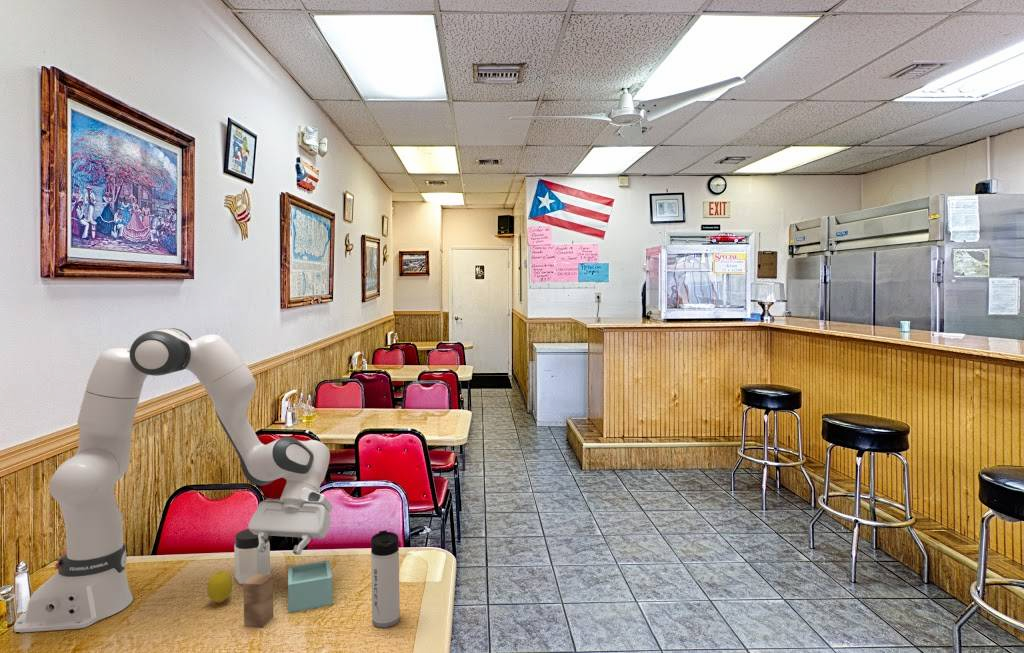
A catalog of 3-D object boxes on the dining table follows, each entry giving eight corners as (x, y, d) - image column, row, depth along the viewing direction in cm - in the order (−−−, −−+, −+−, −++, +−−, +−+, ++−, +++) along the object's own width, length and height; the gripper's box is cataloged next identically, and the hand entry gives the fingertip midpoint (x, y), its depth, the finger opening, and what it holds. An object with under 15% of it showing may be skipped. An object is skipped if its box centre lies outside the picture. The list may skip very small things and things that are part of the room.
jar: (273, 578, 153) (272, 534, 152) (241, 588, 148) (240, 542, 147) (263, 566, 160) (262, 524, 159) (232, 575, 155) (231, 532, 154)
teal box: (288, 613, 136) (287, 584, 135) (288, 593, 145) (288, 566, 145) (332, 605, 139) (331, 577, 139) (329, 586, 149) (329, 560, 148)
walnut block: (244, 626, 130) (243, 583, 130) (256, 615, 135) (255, 573, 134) (262, 627, 130) (261, 584, 129) (273, 616, 134) (272, 575, 134)
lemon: (205, 610, 137) (204, 577, 137) (210, 598, 142) (209, 567, 142) (230, 606, 139) (229, 574, 138) (234, 595, 144) (233, 564, 144)
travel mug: (397, 610, 137) (395, 528, 136) (401, 624, 130) (400, 539, 130) (370, 615, 134) (369, 532, 133) (374, 630, 128) (372, 543, 127)
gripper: (256, 492, 149) (233, 545, 139) (330, 496, 146) (312, 550, 136) (266, 503, 153) (245, 555, 144) (338, 507, 150) (321, 560, 141)
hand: (278, 552), depth 140 cm, fingers open, 8 cm apart
